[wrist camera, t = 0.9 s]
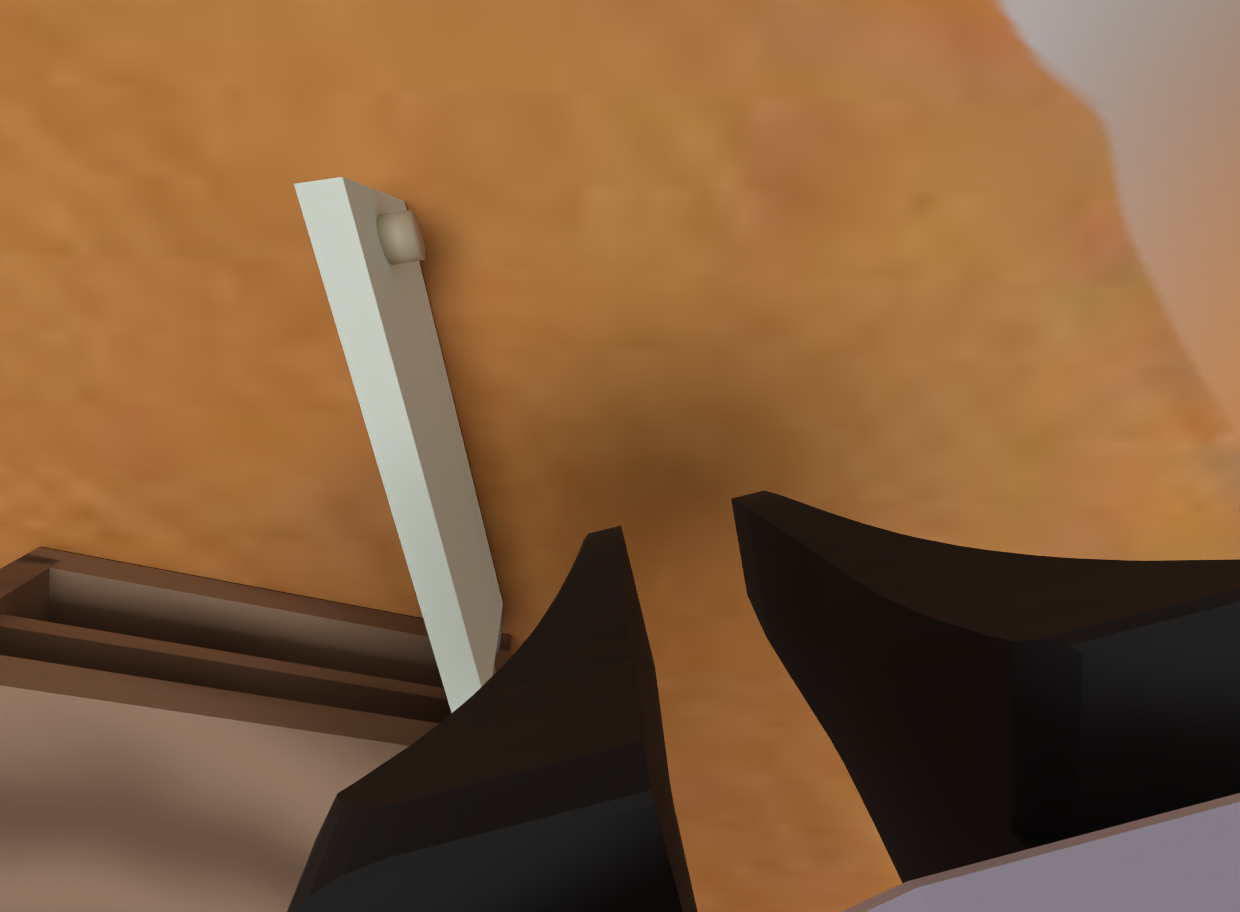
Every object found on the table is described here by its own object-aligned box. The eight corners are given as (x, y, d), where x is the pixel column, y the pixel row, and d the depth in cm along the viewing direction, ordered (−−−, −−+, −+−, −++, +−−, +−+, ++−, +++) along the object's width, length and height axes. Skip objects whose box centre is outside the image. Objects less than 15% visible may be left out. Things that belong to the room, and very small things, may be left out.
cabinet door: (480, 624, 22) (458, 735, 17) (370, 205, 18) (294, 184, 12) (527, 616, 23) (520, 723, 17) (431, 196, 18) (380, 171, 13)
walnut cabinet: (456, 830, 26) (429, 991, 20) (34, 777, 23) (-138, 950, 17) (511, 635, 23) (497, 759, 17) (39, 547, 20) (-164, 661, 14)
